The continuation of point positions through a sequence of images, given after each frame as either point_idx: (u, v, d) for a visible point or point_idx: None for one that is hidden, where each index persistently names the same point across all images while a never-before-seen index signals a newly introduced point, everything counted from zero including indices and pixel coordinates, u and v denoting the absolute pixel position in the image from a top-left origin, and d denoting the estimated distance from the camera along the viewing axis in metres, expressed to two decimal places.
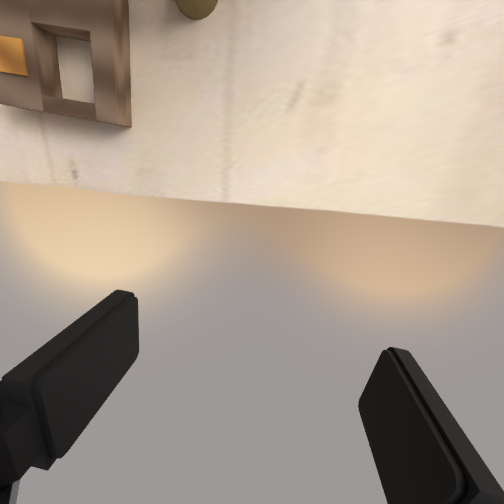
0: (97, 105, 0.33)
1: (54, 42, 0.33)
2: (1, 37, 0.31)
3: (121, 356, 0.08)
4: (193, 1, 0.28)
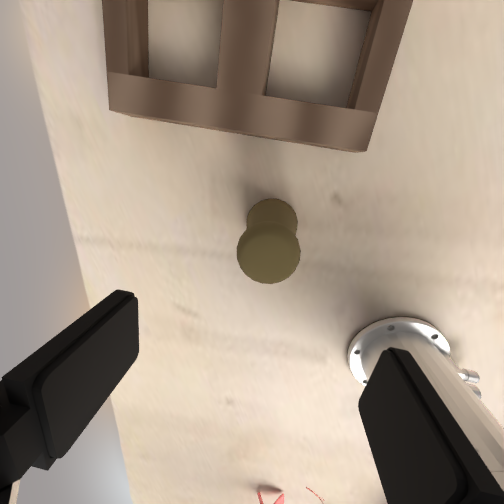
0: (127, 78, 0.21)
1: None
2: None
3: (121, 356, 0.08)
4: None
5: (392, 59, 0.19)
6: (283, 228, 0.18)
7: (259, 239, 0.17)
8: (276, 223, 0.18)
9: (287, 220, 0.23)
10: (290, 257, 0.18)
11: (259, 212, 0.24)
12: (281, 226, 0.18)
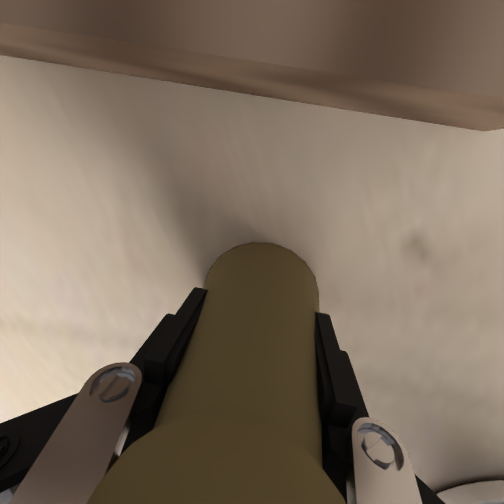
0: None
1: None
2: None
3: None
4: None
5: None
6: None
7: None
8: None
9: (300, 337, 0.07)
10: None
11: (218, 298, 0.08)
12: None
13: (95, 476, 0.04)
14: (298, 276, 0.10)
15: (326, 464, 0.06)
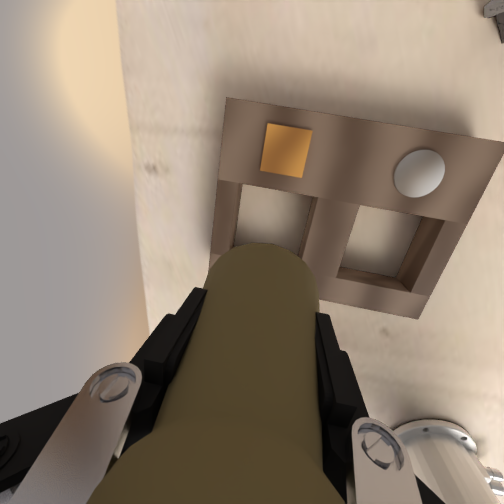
0: None
1: None
2: (307, 147, 0.21)
3: None
4: None
5: (444, 265, 0.24)
6: None
7: None
8: None
9: (300, 338, 0.07)
10: None
11: (218, 299, 0.08)
12: None
13: (95, 476, 0.04)
14: (298, 276, 0.10)
15: (326, 464, 0.06)
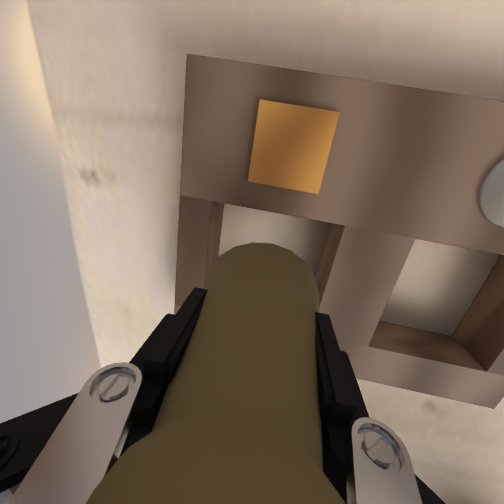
0: None
1: None
2: (329, 142, 0.12)
3: None
4: None
5: None
6: None
7: None
8: None
9: (300, 338, 0.07)
10: None
11: (217, 298, 0.08)
12: None
13: (95, 476, 0.04)
14: (298, 276, 0.10)
15: (326, 464, 0.06)
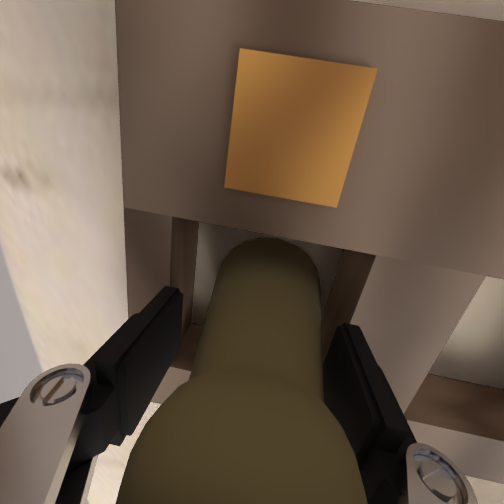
0: None
1: None
2: (356, 122, 0.07)
3: (170, 347, 0.09)
4: None
5: None
6: (305, 464, 0.04)
7: None
8: (273, 420, 0.04)
9: (305, 315, 0.08)
10: None
11: (234, 284, 0.10)
12: (295, 444, 0.04)
13: (45, 475, 0.04)
14: (302, 267, 0.11)
15: (376, 493, 0.05)
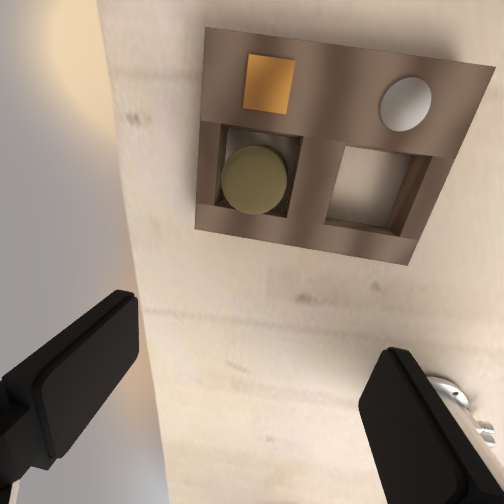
0: (212, 208, 0.26)
1: None
2: (290, 79, 0.20)
3: (121, 356, 0.08)
4: None
5: (432, 205, 0.23)
6: (268, 150, 0.17)
7: (242, 159, 0.17)
8: (261, 146, 0.18)
9: None
10: (275, 179, 0.17)
11: None
12: (266, 149, 0.17)
13: None
14: (276, 153, 0.25)
15: None
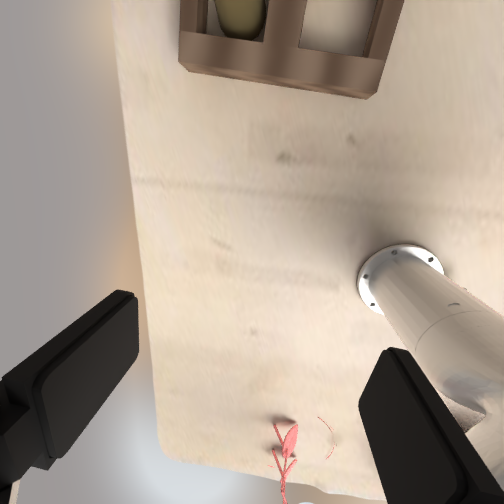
0: (194, 36, 0.28)
1: None
2: None
3: (121, 356, 0.08)
4: None
5: (397, 18, 0.25)
6: None
7: None
8: None
9: None
10: None
11: None
12: None
13: None
14: None
15: None
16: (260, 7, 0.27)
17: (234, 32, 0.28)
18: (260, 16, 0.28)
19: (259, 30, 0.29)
